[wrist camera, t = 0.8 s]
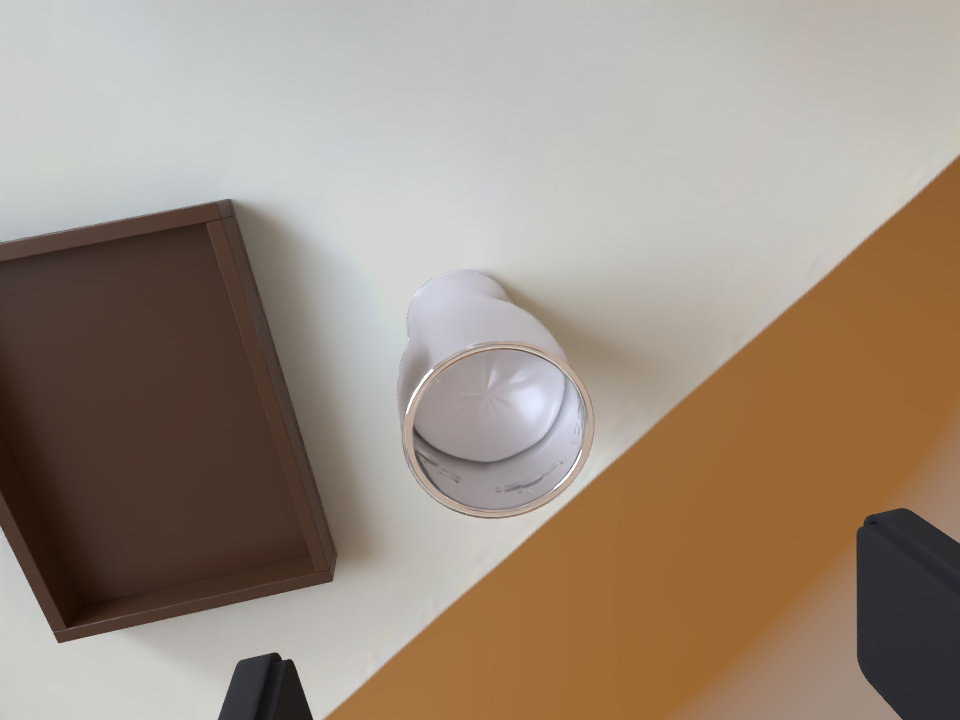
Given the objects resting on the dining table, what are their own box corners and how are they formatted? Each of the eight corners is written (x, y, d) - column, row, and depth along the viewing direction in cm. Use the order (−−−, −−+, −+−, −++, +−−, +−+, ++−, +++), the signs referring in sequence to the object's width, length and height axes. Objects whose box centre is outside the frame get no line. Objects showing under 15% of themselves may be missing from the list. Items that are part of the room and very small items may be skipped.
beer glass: (492, 398, 37) (547, 548, 23) (379, 356, 36) (364, 489, 22) (543, 289, 36) (636, 379, 22) (427, 240, 34) (445, 301, 20)
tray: (-86, 259, 32) (-127, 268, 29) (230, 198, 32) (216, 202, 30) (80, 612, 39) (58, 643, 36) (337, 554, 39) (332, 581, 37)
